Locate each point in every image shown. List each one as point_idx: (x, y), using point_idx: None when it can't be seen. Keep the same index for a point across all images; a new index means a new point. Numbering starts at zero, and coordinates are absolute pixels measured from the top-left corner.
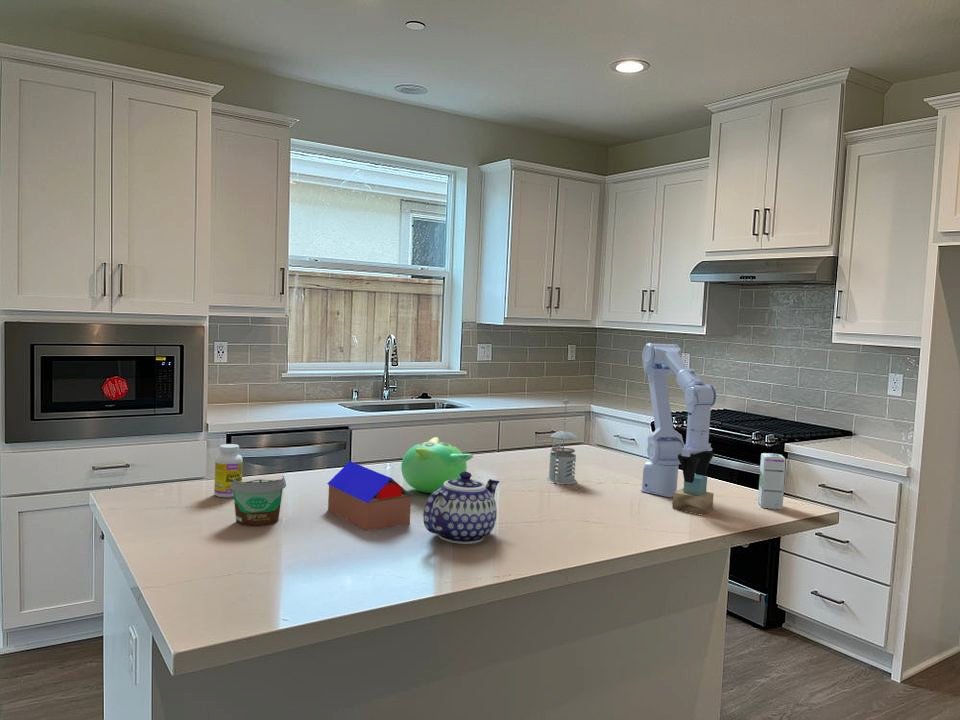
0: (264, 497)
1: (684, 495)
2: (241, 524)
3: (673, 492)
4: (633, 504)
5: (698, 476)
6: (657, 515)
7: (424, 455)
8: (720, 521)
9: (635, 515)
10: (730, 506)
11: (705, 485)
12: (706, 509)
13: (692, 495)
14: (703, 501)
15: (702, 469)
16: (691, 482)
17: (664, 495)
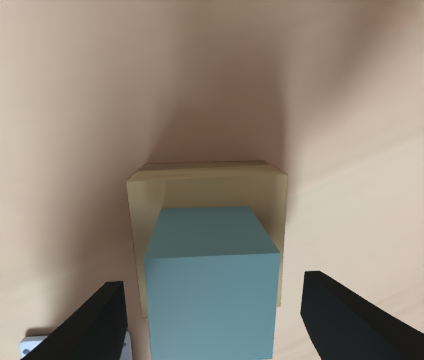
0: None
1: (281, 257)
2: None
3: (279, 306)
4: (303, 353)
5: (204, 299)
6: (375, 255)
7: None
8: (297, 67)
9: (418, 293)
10: (24, 129)
11: (174, 227)
12: (212, 164)
13: (269, 230)
14: (265, 170)
15: (95, 351)
16: (321, 273)
17: (131, 351)
